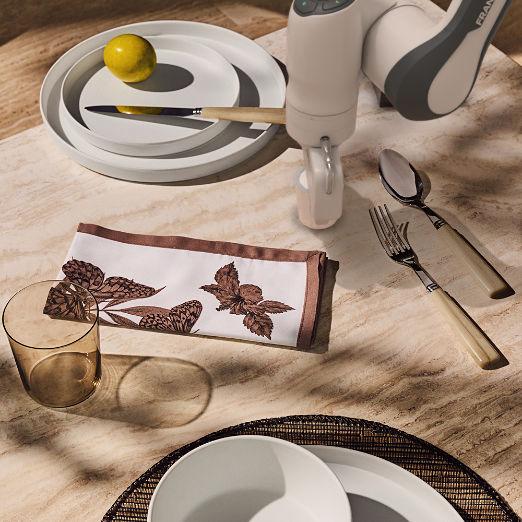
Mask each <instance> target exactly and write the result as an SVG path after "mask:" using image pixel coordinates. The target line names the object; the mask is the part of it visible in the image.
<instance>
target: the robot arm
mask: <svg viewBox="0 0 522 522" xmlns="http://www.w3.org/2000/svg"><path fill="white" fill-rule="evenodd" d="M513 2H514V0H452V1H451V2H450V4H449V6H448V8H447V10H446V11H445V14H444V16H443V17H442V19H441V21H437V20H436V19H434V18H433V17H432V16H431V15H430V14H428V13H426V12H425V10H424V9H422V8H421V7H420V6H419V5H417V4H416V3H415V2H414V1H412V0H293V1H292V3H291V5H290V9H289V12H288V16H287V23H286V24H287V25H286V34H285V67H286V72H287V74H288V82H287V85H286V89H285V129H286V132H287V134H288V135H289V137H290V138H292V139H293V140H294V141H296V142H297V144H298V145H300V147H301V151H302V157H303V163H304V166H305V171H306V177H307V184H308V191H309V197H310V204H311V210H312V216H313V218H314V219H315V223H316V224H317V225H326V224H328V222H329V220H335V219H337V220H338V219H340V218H341V217H342V214H343V201H344V200H343V199H344V187H343V175H344V172H343V165H342V160H341V155H340V150H339V147H340V146H342V144H344V143H345V142H346V141H348V140H350V138H351V137H352V136H353V135H354V134H355V131H356V126H357V117H358V103H359V95H360V88H361V86H362V85H363V84H365V83H369V82H373V83H374V84H375V85H376V86H377V87H378V88H379V89H380V90H381V91H382V92H383V93H384V94H385V95H386V97H387V98H388V100H389V101H390V102H391V103H392V105H393V106H392V107H394V108H395V109H396V111H397V112H398V114H399V115H400V116H401V117H402V118H404V119H406V120H408V121H412V122H427V121H429V122H430V121H433V120H438V119H441V118H444V117H446V116H449V115H450V114H453V113H454V112H455V111H457V110H458V109H459V108H461V106H462V105H463V104H464V103H465V102H466V100H467V99H468V98H469V97H470V94H471V93H472V91H473V89H474V86H475V84H476V82H477V79H478V77H479V74H480V70H481V67H482V66H483V65H482V64H483V62H484V59H485V56H486V54H487V52H488V50H489V47H490V46H491V44H492V42H493V40H494V39H495V36H496V34H497V32H498V30H499V28H500V26H501V25H502V22H503V21H504V19H505V17H506V15H507V13H508V11H509V9H510V8H511V5H512V4H513Z"/></svg>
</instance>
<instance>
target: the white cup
mask: <svg viewBox="0 0 522 522" xmlns="http://www.w3.org/2000/svg"><path fill="white" fill-rule="evenodd" d="M344 175H345V174H343V188H344V186H345V181H346V179H345V176H344ZM293 180H294V189H295V197H296V206H297V215H298V219H299V221H300V222H301V224H302V225H303V226H305V227H306V228H309V229H312V230H313V229H314V230H323V229H327V228H330V227H332V226H333V225H335V223H336V222H337V220H338V219H335V220H329V222H328V224H326V225H317V224H316V223H315V219H314V218H313V216H312V210H311V204H310V197H309V191H308V184H307V177H306V171H305V165H304V166H301V167H300V168H299V169H298V170H297V171H296V173H295V175H294V178H293Z"/></svg>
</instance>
